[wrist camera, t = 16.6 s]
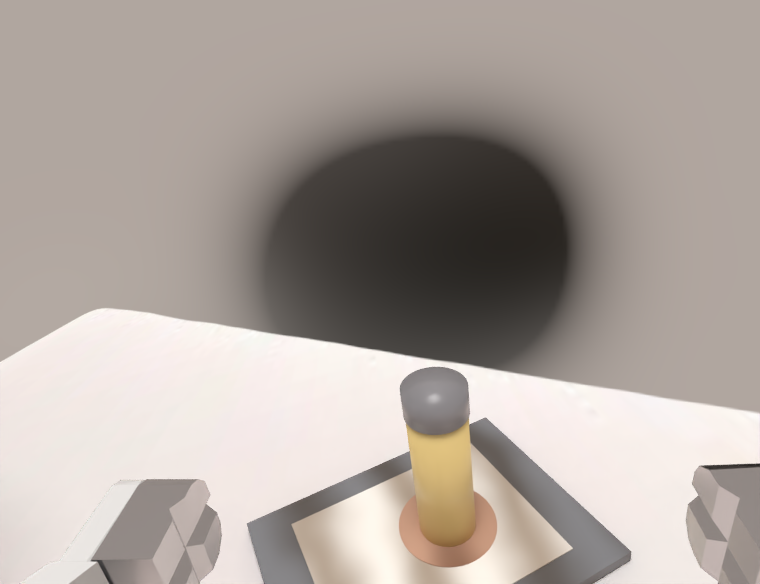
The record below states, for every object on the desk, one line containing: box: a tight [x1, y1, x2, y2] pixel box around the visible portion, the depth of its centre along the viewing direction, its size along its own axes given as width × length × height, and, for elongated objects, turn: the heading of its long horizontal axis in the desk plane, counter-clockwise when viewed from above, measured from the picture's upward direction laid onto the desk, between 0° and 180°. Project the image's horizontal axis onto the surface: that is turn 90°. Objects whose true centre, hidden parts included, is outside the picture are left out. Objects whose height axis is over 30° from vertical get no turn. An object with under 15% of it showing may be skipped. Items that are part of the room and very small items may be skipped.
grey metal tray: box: [247, 418, 631, 584], centre depth 37 cm, size 22×16×1 cm
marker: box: [400, 367, 476, 547], centre depth 35 cm, size 4×4×12 cm
